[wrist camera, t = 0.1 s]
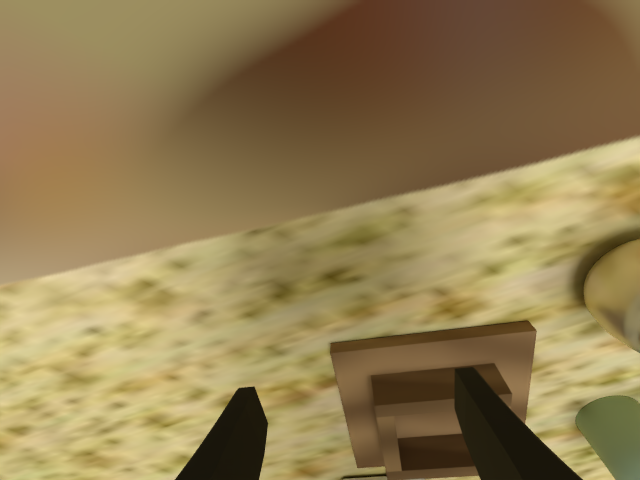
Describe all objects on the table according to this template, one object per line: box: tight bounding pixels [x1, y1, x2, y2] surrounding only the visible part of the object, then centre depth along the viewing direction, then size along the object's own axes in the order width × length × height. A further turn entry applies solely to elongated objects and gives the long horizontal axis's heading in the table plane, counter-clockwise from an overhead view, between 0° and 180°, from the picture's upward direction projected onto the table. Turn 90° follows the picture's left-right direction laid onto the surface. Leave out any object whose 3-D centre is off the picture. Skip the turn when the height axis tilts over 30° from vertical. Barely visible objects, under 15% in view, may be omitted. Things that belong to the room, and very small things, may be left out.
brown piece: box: [330, 321, 537, 480], centre depth 24 cm, size 14×14×4 cm
